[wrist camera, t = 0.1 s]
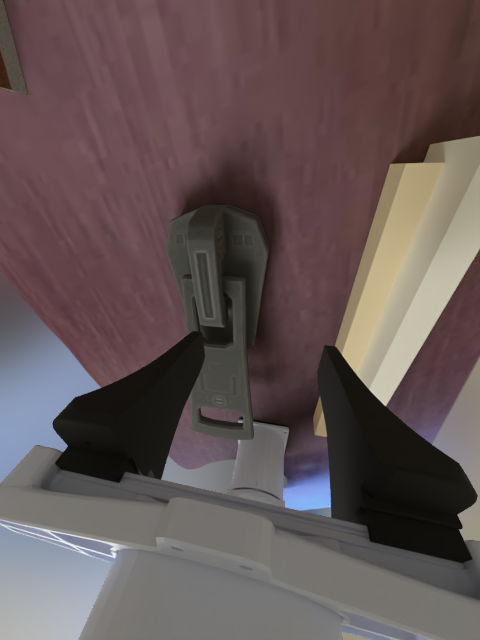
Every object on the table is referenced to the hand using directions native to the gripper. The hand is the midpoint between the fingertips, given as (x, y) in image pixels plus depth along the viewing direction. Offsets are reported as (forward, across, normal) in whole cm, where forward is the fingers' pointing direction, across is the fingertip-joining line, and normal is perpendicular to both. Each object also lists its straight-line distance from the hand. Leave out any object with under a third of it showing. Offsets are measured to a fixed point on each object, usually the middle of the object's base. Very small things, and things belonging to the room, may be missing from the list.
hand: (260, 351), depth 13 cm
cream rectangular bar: (+10, -9, +6) cm, 15 cm away
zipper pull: (+10, +5, +6) cm, 13 cm away
